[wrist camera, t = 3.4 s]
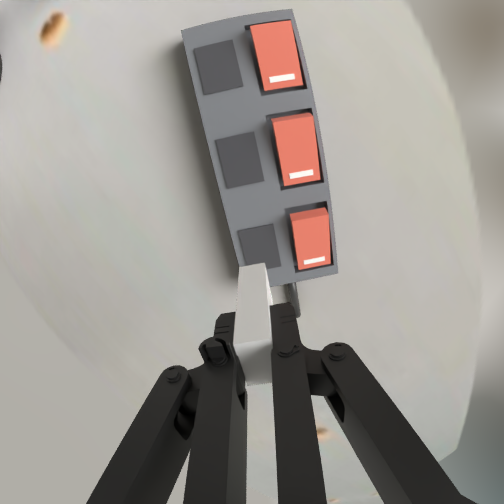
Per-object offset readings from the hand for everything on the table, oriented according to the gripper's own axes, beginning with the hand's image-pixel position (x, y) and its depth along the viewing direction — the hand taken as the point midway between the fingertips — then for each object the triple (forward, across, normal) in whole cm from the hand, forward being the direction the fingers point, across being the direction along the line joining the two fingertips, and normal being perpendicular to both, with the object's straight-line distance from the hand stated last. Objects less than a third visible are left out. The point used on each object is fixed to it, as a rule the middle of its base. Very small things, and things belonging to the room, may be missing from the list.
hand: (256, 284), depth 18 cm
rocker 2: (+19, +6, +5) cm, 20 cm away
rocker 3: (+19, +6, -6) cm, 21 cm away
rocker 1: (+19, +6, +17) cm, 26 cm away
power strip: (+23, +3, +1) cm, 24 cm away
